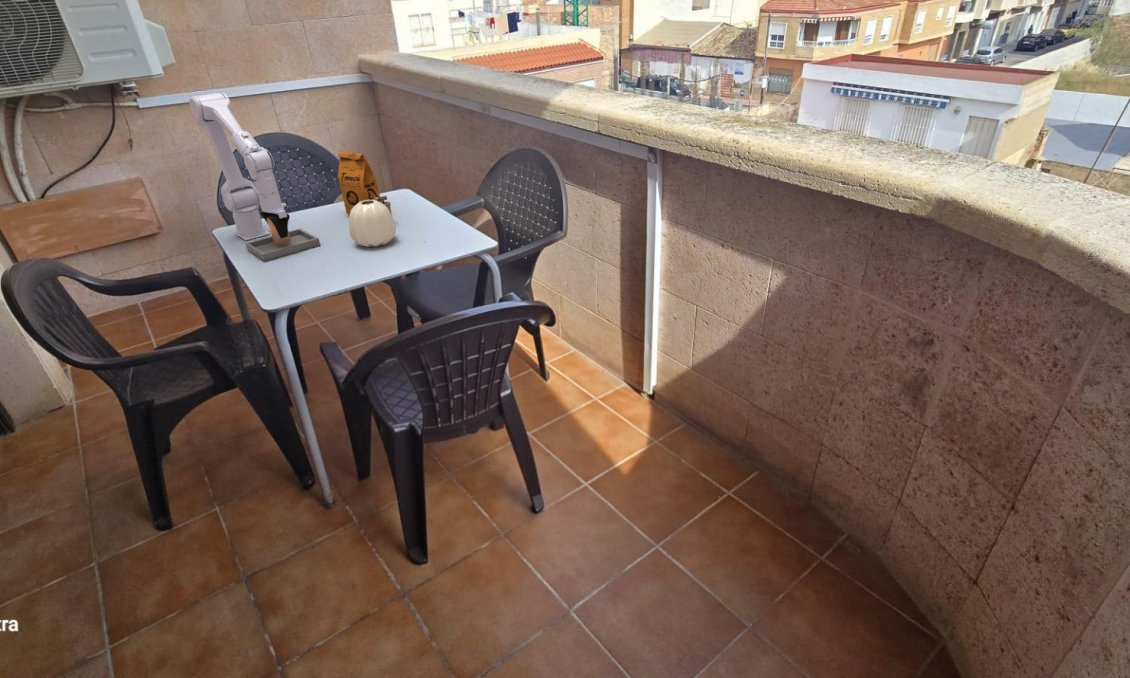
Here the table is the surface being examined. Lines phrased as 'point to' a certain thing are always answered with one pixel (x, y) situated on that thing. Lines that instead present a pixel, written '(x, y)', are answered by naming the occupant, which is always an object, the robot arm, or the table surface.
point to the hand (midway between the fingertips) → (280, 235)
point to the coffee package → (356, 180)
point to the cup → (275, 234)
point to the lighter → (384, 202)
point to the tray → (271, 251)
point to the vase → (371, 224)
